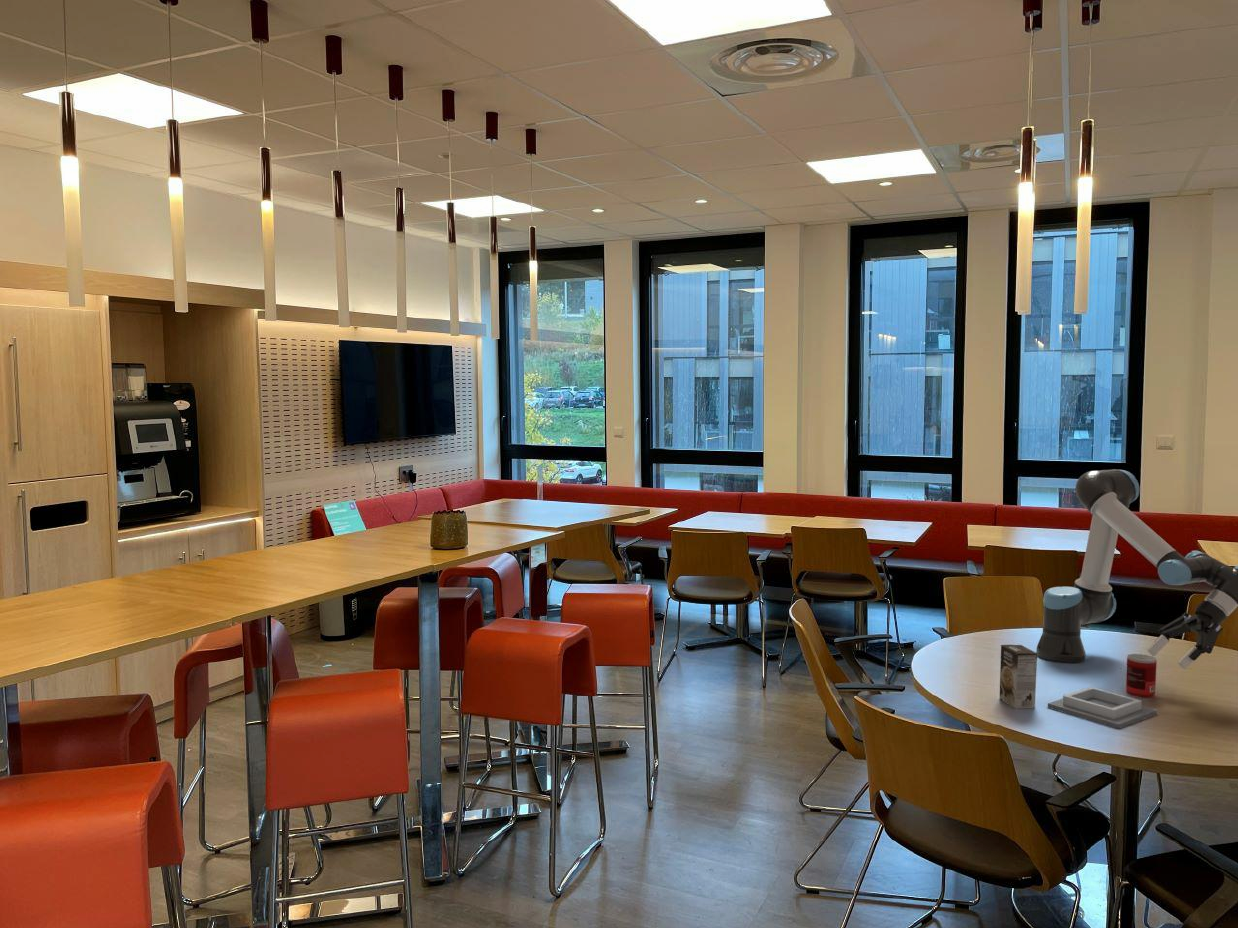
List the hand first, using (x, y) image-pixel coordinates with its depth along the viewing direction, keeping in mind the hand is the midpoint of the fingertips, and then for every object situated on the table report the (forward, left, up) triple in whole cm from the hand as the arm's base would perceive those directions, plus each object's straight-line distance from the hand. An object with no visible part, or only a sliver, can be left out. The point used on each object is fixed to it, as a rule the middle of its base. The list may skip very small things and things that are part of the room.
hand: (1165, 659), depth 268 cm
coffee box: (-19, -44, -11) cm, 49 cm away
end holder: (-2, -30, -11) cm, 32 cm away
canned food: (-4, -5, -11) cm, 13 cm away
